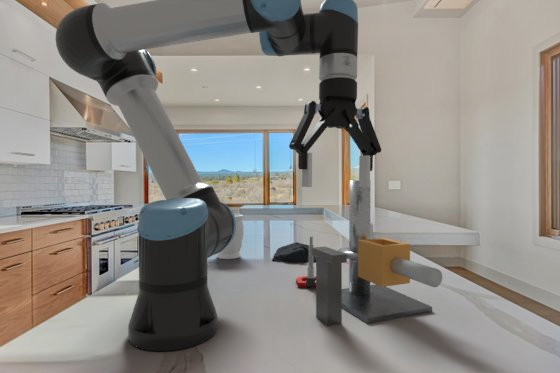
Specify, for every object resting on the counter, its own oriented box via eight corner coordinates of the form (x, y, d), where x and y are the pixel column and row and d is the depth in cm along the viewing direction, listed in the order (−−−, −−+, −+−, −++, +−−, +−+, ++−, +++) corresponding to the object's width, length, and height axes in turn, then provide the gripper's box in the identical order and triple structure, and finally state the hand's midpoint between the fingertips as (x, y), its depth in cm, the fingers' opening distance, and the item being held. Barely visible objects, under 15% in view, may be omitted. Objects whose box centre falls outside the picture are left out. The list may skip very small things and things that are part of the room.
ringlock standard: (367, 323, 65) (367, 180, 64) (319, 293, 83) (319, 180, 82) (432, 311, 71) (432, 180, 70) (374, 285, 88) (374, 180, 88)
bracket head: (419, 303, 59) (419, 256, 58) (357, 276, 75) (358, 239, 75) (450, 298, 61) (450, 253, 61) (384, 273, 78) (384, 237, 78)
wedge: (332, 330, 62) (332, 255, 62) (312, 314, 70) (312, 247, 69) (346, 327, 63) (346, 254, 63) (325, 312, 71) (325, 246, 70)
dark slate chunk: (314, 251, 135) (314, 238, 135) (317, 264, 113) (317, 250, 113) (275, 250, 136) (275, 238, 136) (270, 264, 114) (270, 249, 114)
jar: (249, 256, 124) (249, 214, 123) (230, 261, 115) (230, 216, 115) (226, 252, 129) (226, 212, 129) (207, 258, 121) (207, 215, 120)
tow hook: (297, 279, 96) (293, 288, 87) (298, 232, 96) (294, 236, 87) (327, 281, 95) (327, 289, 85) (328, 233, 95) (327, 237, 86)
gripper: (289, 66, 61) (288, 187, 61) (399, 83, 71) (398, 187, 71) (273, 78, 68) (272, 186, 68) (376, 92, 78) (374, 186, 78)
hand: (336, 187), depth 69 cm, fingers open, 13 cm apart
